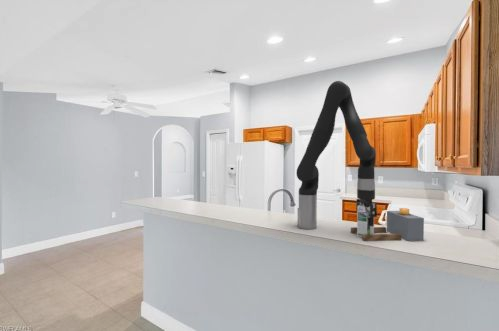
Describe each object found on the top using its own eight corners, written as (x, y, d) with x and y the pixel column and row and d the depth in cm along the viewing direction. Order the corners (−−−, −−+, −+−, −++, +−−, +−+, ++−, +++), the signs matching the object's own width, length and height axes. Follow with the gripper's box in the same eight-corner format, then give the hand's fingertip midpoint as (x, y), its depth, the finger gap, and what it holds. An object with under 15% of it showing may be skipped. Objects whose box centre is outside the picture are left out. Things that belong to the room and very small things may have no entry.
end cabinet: (408, 241, 115) (408, 218, 115) (386, 231, 131) (386, 210, 131) (423, 240, 116) (423, 218, 116) (400, 230, 132) (400, 210, 132)
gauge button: (402, 218, 121) (402, 209, 121) (397, 216, 125) (397, 208, 125) (411, 218, 122) (411, 209, 121) (405, 216, 126) (405, 208, 125)
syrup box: (356, 236, 122) (356, 205, 122) (361, 233, 127) (362, 203, 126) (369, 239, 118) (369, 206, 118) (374, 236, 122) (374, 205, 122)
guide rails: (364, 241, 116) (364, 235, 116) (350, 232, 129) (350, 227, 129) (401, 240, 117) (401, 234, 117) (384, 231, 130) (384, 226, 130)
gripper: (351, 186, 129) (351, 220, 129) (365, 190, 114) (365, 227, 115) (366, 186, 129) (366, 219, 130) (382, 190, 115) (382, 227, 115)
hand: (365, 223), depth 122 cm, fingers open, 8 cm apart
